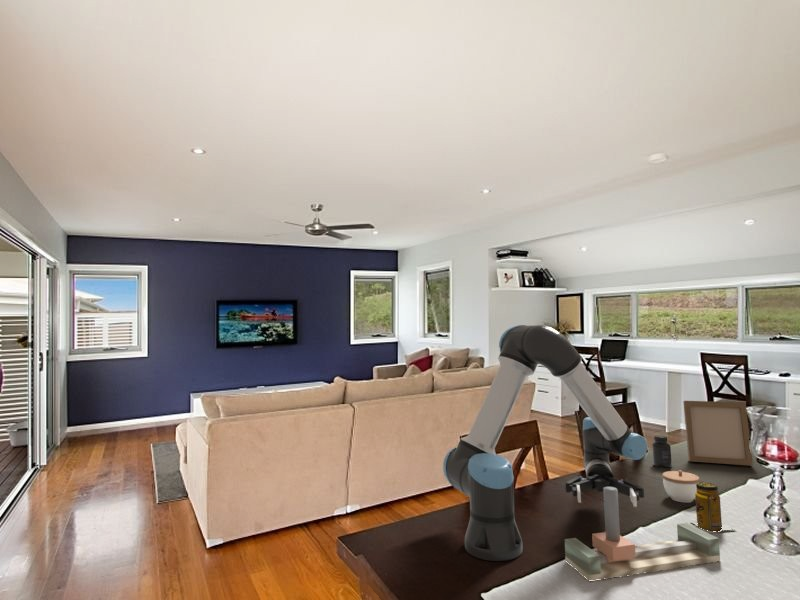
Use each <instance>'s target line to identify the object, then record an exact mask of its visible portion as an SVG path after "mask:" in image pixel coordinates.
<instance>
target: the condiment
mask: <svg viewBox="0 0 800 600" xmlns="http://www.w3.org/2000/svg"><path fill="white" fill-rule="evenodd" d="M696 487H697V489H696V491H697V492H696V493H695V509H696V510H695V511H696V523H698V524H697V525H698V527H700V528H702V529H704V530H703V531H705V532H707V533H709V534H713V533H714V532H713V531H716V532H715V533H716V534H717V532H718V531H720V530H721V529H722V528H721V527H722V524H723V523H722V522H723V521H722V509H721V507H722V506H721V497H720V495H719V487H718V486H717V484H714V483H711V482H710V483H709V482H700V481H699V483H697V484H696ZM698 527H697V528H698ZM700 528H699V529H700ZM702 529H701V530H702ZM731 529H732V530H727V531H726V532H733V531H737V530H736V529H734V530H733V528H731ZM707 530H708V531H707ZM724 532H725V531H723V530H722V532H721V533H724ZM715 533H714V534H715ZM718 533H719V532H718Z"/></svg>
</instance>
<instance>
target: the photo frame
mask: <svg viewBox="0 0 800 600" xmlns="http://www.w3.org/2000/svg"><path fill="white" fill-rule="evenodd" d="M682 403H683V413H684V414H683V415H684V423H685V424H684V425H685V434H686V435H685V436H686V447H687V458H688V459H687V460H688V462H694V463H695V462H697V463H710V464H723V465H724V464H725V465H738V466H739V465H740V466H751V467H753V466H754V462H753V461H754V460H753V453H752V454H751V453H750V449H749V439H750V440H751V437H750V429H749V421H748V414H747V413H748V412H747V413H746V411H747V405H746V404H747V403H746V402H744V401H742V402H741V401H740V402H738V401H737V402H736V401H710V400H709V401H705V400H704V401H703V400H684V401H682Z"/></svg>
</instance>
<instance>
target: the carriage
mask: <svg viewBox="0 0 800 600" xmlns="http://www.w3.org/2000/svg"><path fill="white" fill-rule="evenodd" d="M603 491H604V492H603V507H604V508H603V510H604V525H605V526H604V528H605V531H603V532H597V533H592V534H591V535H592V536H591V538H592V539H591V541H592V547H593V548H595V549H596V551H597V553H603V554H605V555H606V559H607V562H615V561H622V560H629V559H631V558H635V557H636V556H635V546H636V544H635V543H633V542H632V541H630V540H629V539H627V538H626V537H623V536H622V535H621V534H620V533H621V531H620V515H619V514H620V511H619V492H618V490H617V488H614V487H604V488H603Z"/></svg>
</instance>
